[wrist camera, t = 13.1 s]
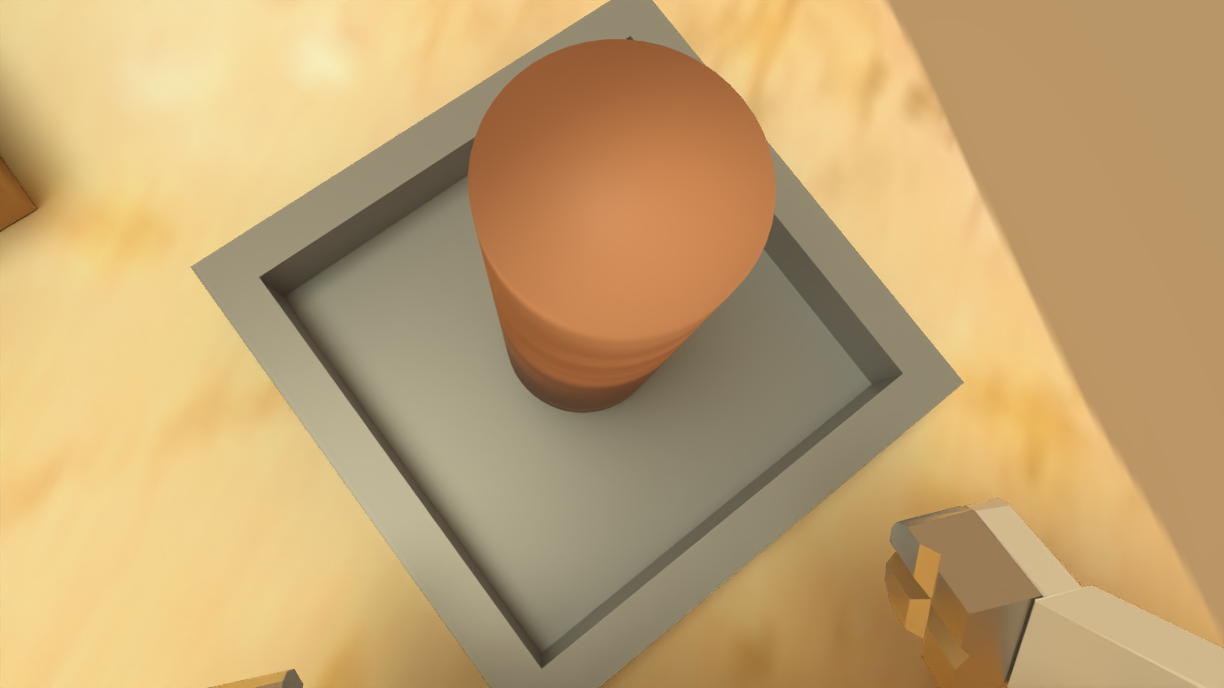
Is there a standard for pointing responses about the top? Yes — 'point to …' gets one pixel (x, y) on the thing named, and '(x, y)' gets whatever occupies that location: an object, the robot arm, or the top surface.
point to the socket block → (12, 198)
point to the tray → (549, 437)
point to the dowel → (614, 213)
